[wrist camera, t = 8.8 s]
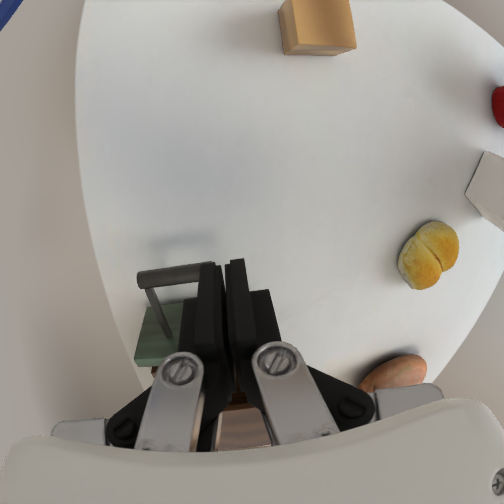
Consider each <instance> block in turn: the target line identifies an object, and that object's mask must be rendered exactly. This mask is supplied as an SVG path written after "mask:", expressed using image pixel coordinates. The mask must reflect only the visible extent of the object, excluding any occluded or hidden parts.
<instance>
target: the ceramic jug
mask: <svg viewBox="0 0 504 504" xmlns="http://www.w3.org/2000/svg"><path fill="white" fill-rule="evenodd" d="M426 372H427V365H426V362H425V360H424V359H423V358H422V357H420V356H418V355H413V354H410V355H403V356H399V357H396V358H394V359H391V360H389V361H387V362H385V363H383V364H382V365H380V366H378V367H377V368H375V369H374V370H373V371H371V372H370V373H369V374H368V375H367V376H366V377H365V378H364V379H363V380H362V381H361V383H360V384H359V386H358V388H359V389H361V390H363V391H364V392H366V393H372V392H375V390H377V389H387V388H395V387H403V386H410V385H416V384H422V382H423V380H424V378H425V376H426Z"/></svg>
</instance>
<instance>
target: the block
mask: <svg viewBox="0 0 504 504" xmlns="http://www.w3.org/2000/svg"><path fill="white" fill-rule="evenodd" d="M278 15H279V21H280V28H281V35H282V42H283V50H284V55H324V56H335V55H338V54H341V53H344V52H347V51H350V50H353V49H356V48H357V46H356V39H355V32H354V26H353V20H352V14H351V9H350V4H349V0H285V1H284V3H283V4H282V6H281V7H280V9H279V10H278Z"/></svg>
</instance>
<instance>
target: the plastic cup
mask: <svg viewBox="0 0 504 504" xmlns="http://www.w3.org/2000/svg"><path fill="white" fill-rule="evenodd" d="M492 109H493V114H494V117H495V119H496V122H497V123H498V124H499V125H500V126H501V127H502V128H504V86H502V87H498V88H496V89H495V90H494V92H493V96H492Z"/></svg>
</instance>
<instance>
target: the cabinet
mask: <svg viewBox="0 0 504 504" xmlns="http://www.w3.org/2000/svg"><path fill="white" fill-rule="evenodd" d="M270 444H271V443H270V441H269V438H268V435H267V432H266V429H265V426H264V423H263V420H262V417H261V414H260V410H259V409H257V408H256V407H254V406H252V405H251V404H249V403H243V404H234V405H228V406H227V407H226V408H225V409H224V410H223V411H222V425H221V433H220V442H219V450H222V449H223V450H224V449H237V448H247V447H256V446H263V445H270Z"/></svg>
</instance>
